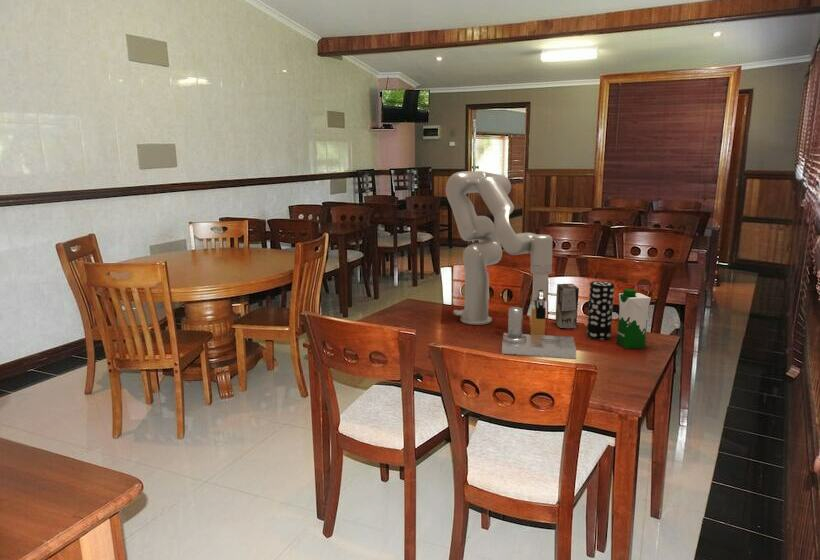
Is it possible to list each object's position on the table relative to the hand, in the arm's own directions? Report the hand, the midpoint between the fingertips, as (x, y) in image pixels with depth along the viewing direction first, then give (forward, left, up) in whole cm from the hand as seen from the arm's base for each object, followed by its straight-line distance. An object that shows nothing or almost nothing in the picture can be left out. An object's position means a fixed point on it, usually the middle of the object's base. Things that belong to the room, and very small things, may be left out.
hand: (540, 315), depth 208 cm
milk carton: (+31, -4, -8) cm, 33 cm away
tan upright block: (-1, 0, -8) cm, 8 cm away
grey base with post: (-1, -15, -8) cm, 17 cm away
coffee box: (+10, +16, -8) cm, 21 cm away
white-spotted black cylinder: (+21, +4, -8) cm, 23 cm away
